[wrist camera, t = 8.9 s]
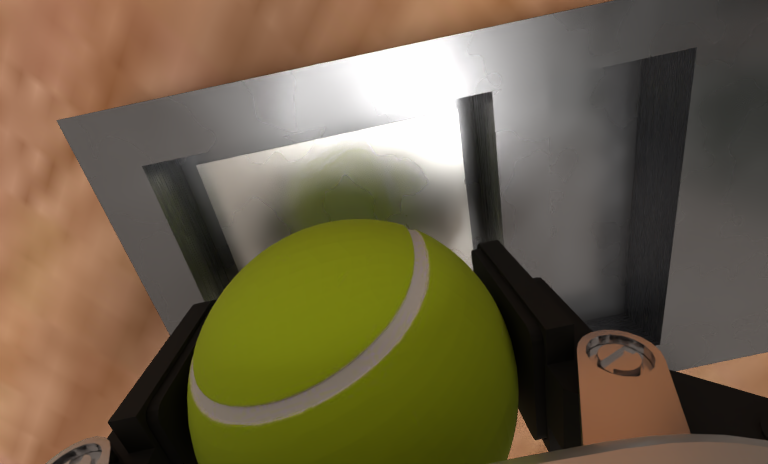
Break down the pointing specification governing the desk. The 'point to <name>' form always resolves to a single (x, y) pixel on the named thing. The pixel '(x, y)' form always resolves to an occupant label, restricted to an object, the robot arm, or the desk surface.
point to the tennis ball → (354, 356)
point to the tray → (482, 165)
